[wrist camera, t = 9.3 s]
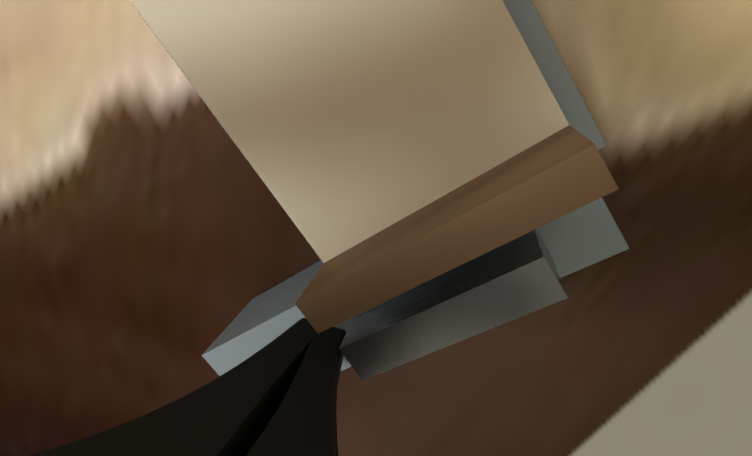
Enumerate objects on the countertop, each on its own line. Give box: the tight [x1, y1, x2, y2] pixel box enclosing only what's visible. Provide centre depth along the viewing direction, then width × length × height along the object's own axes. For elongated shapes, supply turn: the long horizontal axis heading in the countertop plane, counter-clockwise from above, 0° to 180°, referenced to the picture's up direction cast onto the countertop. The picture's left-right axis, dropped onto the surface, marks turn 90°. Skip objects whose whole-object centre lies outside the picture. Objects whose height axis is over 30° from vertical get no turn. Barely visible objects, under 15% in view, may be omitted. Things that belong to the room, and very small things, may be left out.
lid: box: [130, 0, 618, 334], centre depth 8 cm, size 8×6×2 cm
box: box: [138, 0, 630, 376], centre depth 12 cm, size 10×13×4 cm
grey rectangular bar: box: [339, 229, 568, 380], centre depth 10 cm, size 1×5×2 cm, turn 125°
